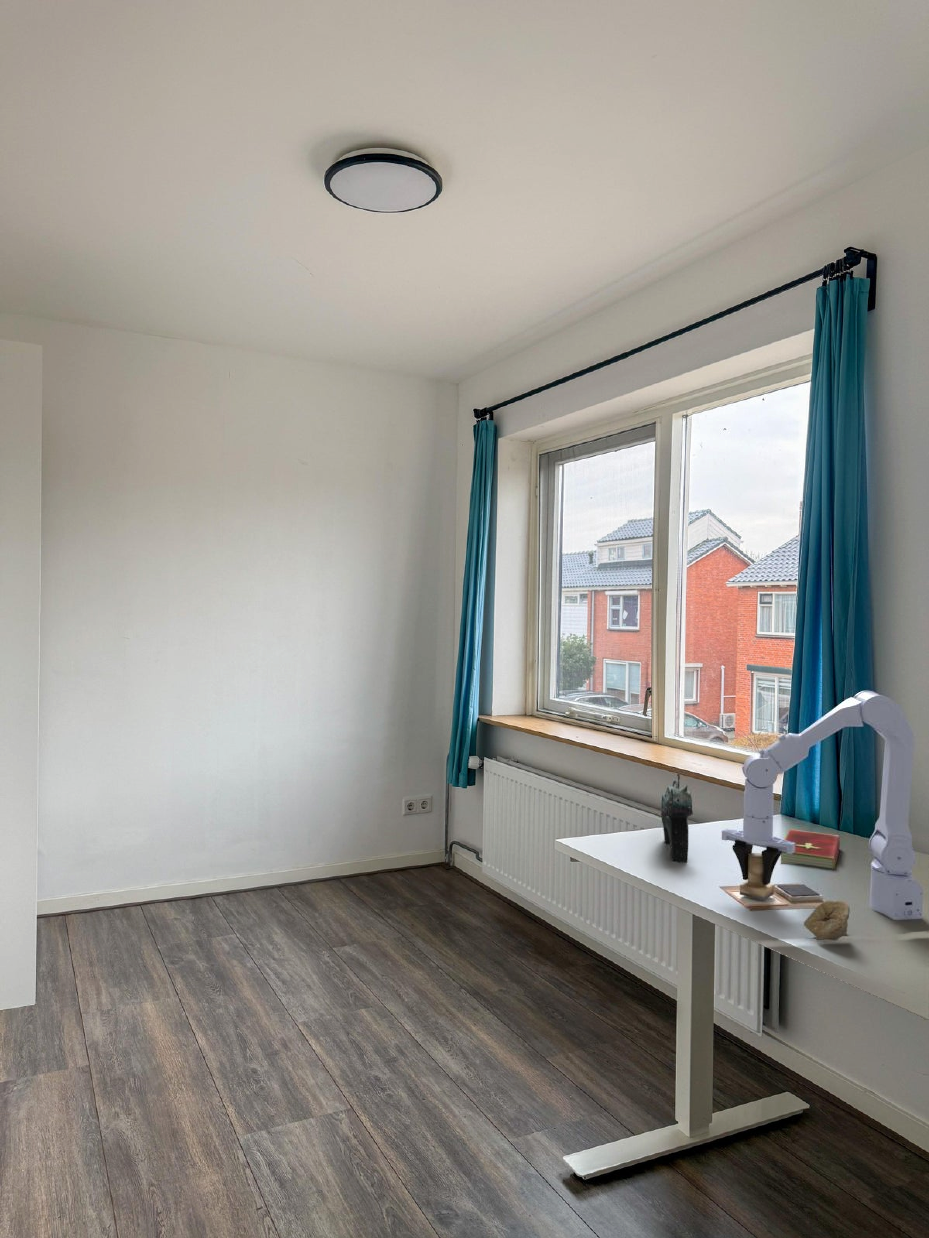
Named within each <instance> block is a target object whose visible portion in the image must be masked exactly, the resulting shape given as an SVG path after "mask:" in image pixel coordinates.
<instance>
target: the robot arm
mask: <svg viewBox="0 0 929 1238" xmlns="http://www.w3.org/2000/svg"><path fill="white" fill-rule="evenodd" d="M864 723H865V724H867V725H869V726H871V727H872V728H873V730H874V731H876V732H877V733H878V734H879V736H880V737H882V738H883V739H884V749H883V751H884V752H883V764H882V765H883V767H882V778H881V780H882V781H881V791H880V805H879V818H877V820H876V822H875V823H874V824H875V825H874V831H873V833H872V835H871V836H870V838H869V839H868V840H869V841H868V848H869V851H870V853H871V854H872V855H873V857H874V858H873V860H872V861H871V863H870V893H869V896H870V897H869V908H870V909H872V910H873V911H875V912H877V913H881V914H883V915H885V916H886V917H888V918H890V919H891V920H895V921H899V920H922V919H923V900H924V897H923V894H924V893H923V888H922V887H923V886H921V883H920V882H919V881H917V880H916V879H915V878H914V875H913V873H912V871H913V868H914V866H915V864H916V862H917V861H916V860H917V855H916V852H915V850H914V848H913V845H912V844H913V835H912V833H911V829H910V826H909V818H910V817H909V816H910V803H911V790H912V787H911V786H912V778H913V777H912V775H913V764H914V762H913V760H914V749H915V746H914V745H915V738H916V737H915V733H914V730H913V729H912V727H911V725H910V723H909V722H908V720H907V717H905V715H904V713H903V710H902V707H901V706H899V704H897V703H896V702H895V701H893V699H891V698H889V697H888V696H885V695H881V694H878V693H877V692H875V691H872V690H861V691H860V692H858V693H856V694H855V695H854V696H853V697H851V696H850V697H849V698H846V699H845V700H844V701H842V702H841V703H839V704H838V705H837V706H835V707H834V708H833V709H831V710H830V711H829V712H827V713H826V714H825V715H823V716H821V718H819V719H817V720H816V721H815V722H813V723H812V724H811V725H810V726H808V727H807V728H806V729H804V730H802V731H801V732H800V733H794V732H793V733H792V732H788V733H787V734H786V735H785V734H784V733H781V734H780V735H778V736H777V739H778V740H777V741H775V742H773V743H771V745H769V746H767V747H766V748H765V749H763V748H761V749H759V750H758V753H759V754H752V755H750V756H749V757H747V758H746V759H745V760H744V763H743V766H742V767H741V769H742V770H741V771H742V773H743V775H744V777H745V781H744V791H743V819H742V821H743V822H742V823H743V825H742V830H738V829H736V830H735V829H730V828H729V829H728V828H725V829H723V830H721V840H722V841H732V842H734V844H733V845H732V851H733V853H734V855H735V857H736V859H737V861H738V864H739V868H740V870H741V875H742V880H743V881H748V854H749V853H753V847H754V846H755V847H760V848H765V849H763V850H762V851H761V854H762V859H763V884H764V885H768V884H771V879H772V876H773V872H774V869H775V868H776V867H775V866H776V865H777V863H778V860H779V859H780V858H781V854H782V851H783V852H786V853H788V854H792V853H794V852H795V843H794V842H790V841H786V840H784V838H780V837H777V836H774V834H773V833H774V829H773V828H774V798H775V797H774V796H775V794H774V784H775V783H776V781H777V779H778V776H779V775H781V774H783V773H785V772H787V771H788V770H789V769H791V768H793V767H794V766H795V765H797V764H799V762H802V761H803V760H805V759H806V758H807V757H808V756H809V750H810V748H811V747H813V746H815V745H816V744H818V743H820V742H821V741H823V740H825V739H827V738H828V737H830V736H832V735H834V734H835V733H837V732H838V731H840V730H842V729H843V728H846V727H853V728H855V727H859V728H860V727H861V728H862V727H864Z"/></svg>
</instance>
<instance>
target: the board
mask: <svg viewBox="0 0 929 1238" xmlns="http://www.w3.org/2000/svg"><path fill="white" fill-rule="evenodd" d="M799 884H800V883H777V884H776V883H774V886H776V885H799ZM718 887H719V888H720V889H721V890H723V891H724V892H725V890H740V885H726V886H725V885H724V886H723V885H722V886H721V885H720V886H718ZM725 893H727V892H725ZM727 894H728V893H727ZM774 895H775V896H777V897H778V898H780V899H781V900H783V901H784V902H786V903H787V904H788V905H782V906H759V907H745V906H744V905H742V906H744V907H745V908H746V909H747V910H749V911H751V912H760V911H780V910H802V909H803V910H805V909H816V907H818V906H819V905H820V904H822V903H824V902H826V901H827V900H825V899H823V901H809V902H790V901H789V900H787V899H786V898H784V897H783V896H781V895H780V894H778V893H777V892H775V891H774ZM729 896H730V897H732V896H731V895H729ZM733 899H734V900H736V899H735V898H733ZM737 902H738V903H740V902H739V901H737Z"/></svg>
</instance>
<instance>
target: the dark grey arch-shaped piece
mask: <svg viewBox="0 0 929 1238" xmlns="http://www.w3.org/2000/svg"><path fill="white" fill-rule="evenodd" d="M676 776H677V780H678V781H677V780H674V781H673V782H672V785H671V786H670V785H669V786H667V787H666V791H665V794H662V796H661V805H660V816H661V823H662V826H663V827H662V828H663V837H664V839H663V840H664V843H665V844H666V845H670V846H669V847H670V853H669V854H670V859H671V861H672V862H675V863H688V856H689V855H688V854H689V817H690V816H692V815H694V812H693V800H692V792H691V789H690V790H689V789H688V785H685V786H683V787H680V778H681V772H680V771H678V772H677V775H676Z"/></svg>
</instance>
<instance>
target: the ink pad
mask: <svg viewBox="0 0 929 1238" xmlns="http://www.w3.org/2000/svg"><path fill="white" fill-rule="evenodd" d="M798 884H799V885H776V886H774V891H775V892H777V893H778V894H780V895H781V896H783V897H784V898H786V899H787V900H789V901H790V902H809V901H823V900H824V895H823V894H821V893H819V892H817V891H816V890H814V889H812V888H811V887H809V886H807V884H804V883H803V884H801V883H798Z"/></svg>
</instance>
